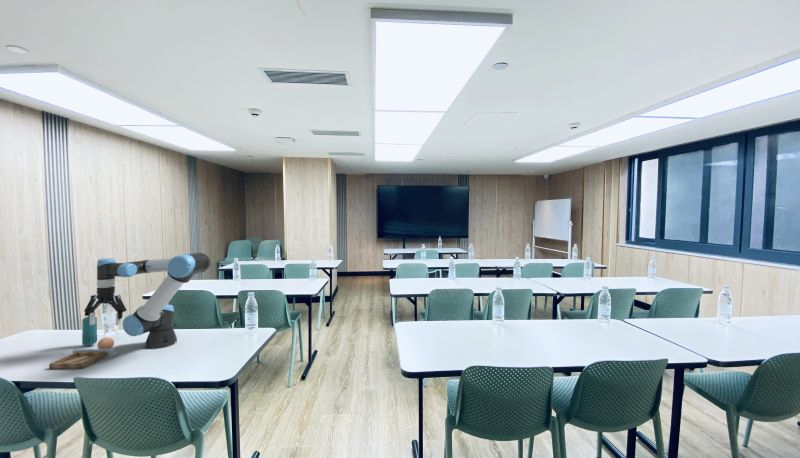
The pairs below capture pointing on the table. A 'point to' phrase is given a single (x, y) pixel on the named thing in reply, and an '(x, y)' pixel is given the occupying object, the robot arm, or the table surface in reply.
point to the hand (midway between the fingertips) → (105, 324)
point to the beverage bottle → (89, 331)
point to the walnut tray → (78, 360)
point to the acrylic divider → (109, 351)
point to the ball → (105, 343)
